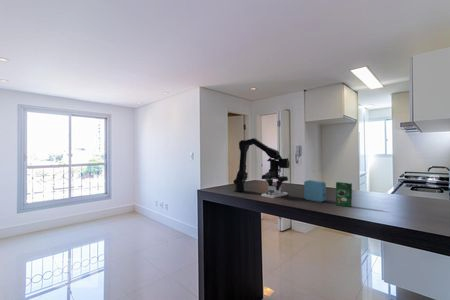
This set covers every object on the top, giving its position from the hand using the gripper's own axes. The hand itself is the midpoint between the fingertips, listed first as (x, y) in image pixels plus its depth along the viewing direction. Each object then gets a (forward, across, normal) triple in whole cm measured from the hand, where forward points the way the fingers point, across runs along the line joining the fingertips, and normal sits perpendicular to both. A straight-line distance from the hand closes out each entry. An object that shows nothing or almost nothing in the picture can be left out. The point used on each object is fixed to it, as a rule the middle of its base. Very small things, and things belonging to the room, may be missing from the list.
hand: (274, 190), depth 158 cm
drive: (+1, 0, 0) cm, 1 cm away
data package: (+4, +27, +5) cm, 28 cm away
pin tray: (+4, 0, 0) cm, 4 cm away
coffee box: (+4, +45, +3) cm, 45 cm away
